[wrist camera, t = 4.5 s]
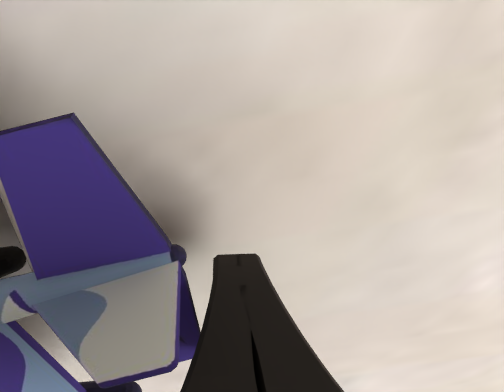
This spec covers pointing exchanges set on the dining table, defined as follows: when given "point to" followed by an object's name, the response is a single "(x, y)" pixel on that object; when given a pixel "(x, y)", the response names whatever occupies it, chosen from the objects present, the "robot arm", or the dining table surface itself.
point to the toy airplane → (85, 268)
